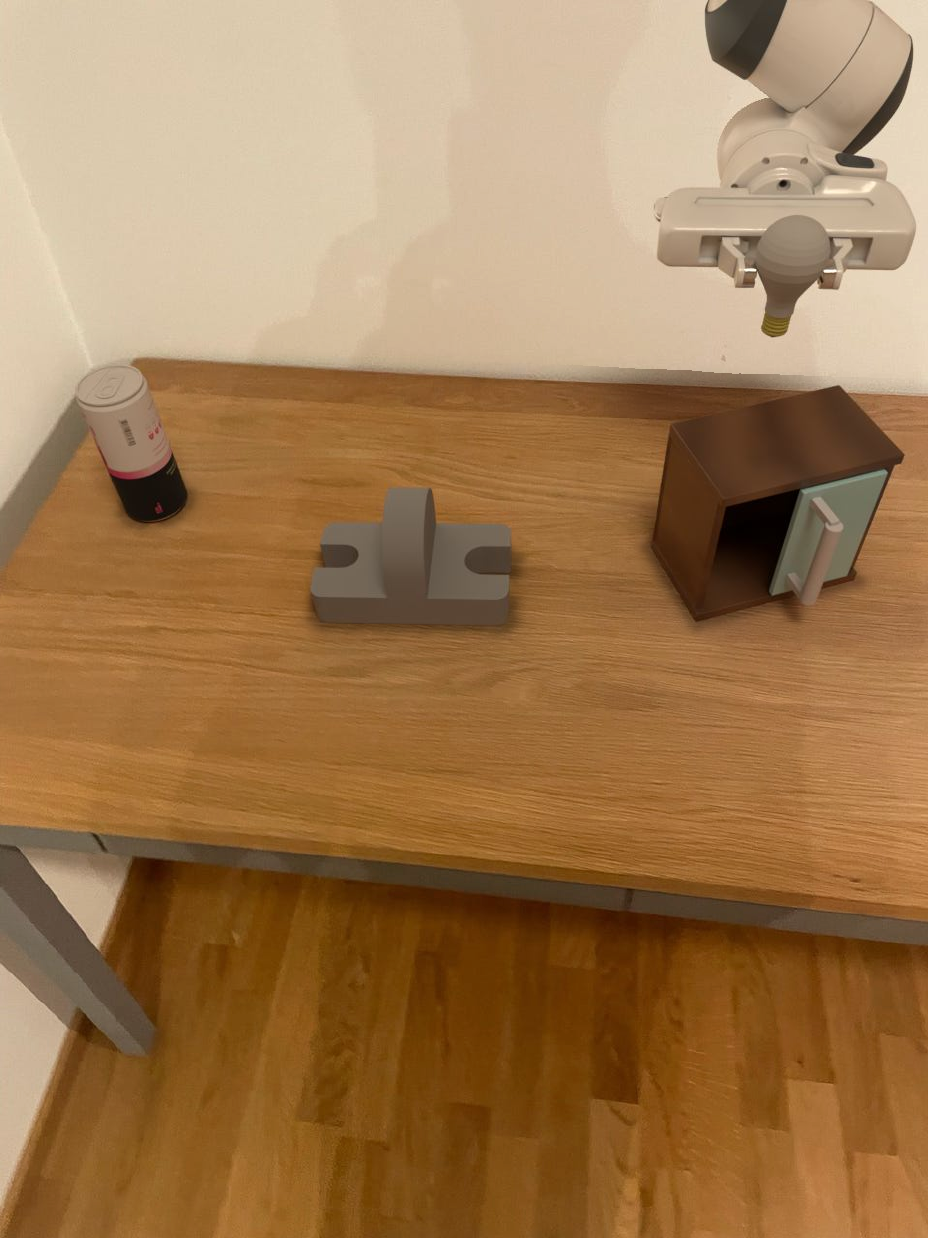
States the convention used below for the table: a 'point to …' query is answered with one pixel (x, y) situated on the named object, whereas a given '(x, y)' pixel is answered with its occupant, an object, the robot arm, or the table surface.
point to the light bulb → (789, 266)
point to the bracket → (413, 568)
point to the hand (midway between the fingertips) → (789, 280)
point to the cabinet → (755, 491)
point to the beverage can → (131, 441)
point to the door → (825, 534)
